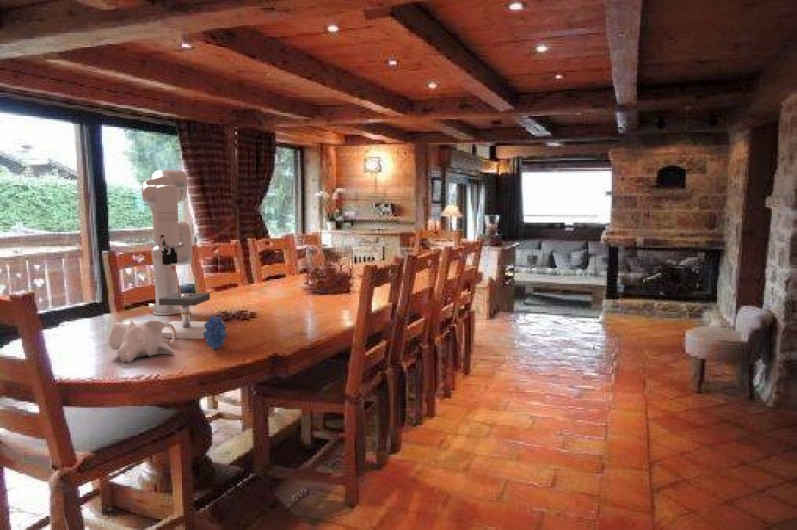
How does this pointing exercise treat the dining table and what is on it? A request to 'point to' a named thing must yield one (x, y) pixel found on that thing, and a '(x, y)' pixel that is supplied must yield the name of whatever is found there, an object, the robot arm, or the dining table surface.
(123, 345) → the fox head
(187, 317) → the glossy pinkish cylinder
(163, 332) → the stand plate
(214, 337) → the grapes
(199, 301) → the square hole plate
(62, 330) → the dining table surface
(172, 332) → the ring
